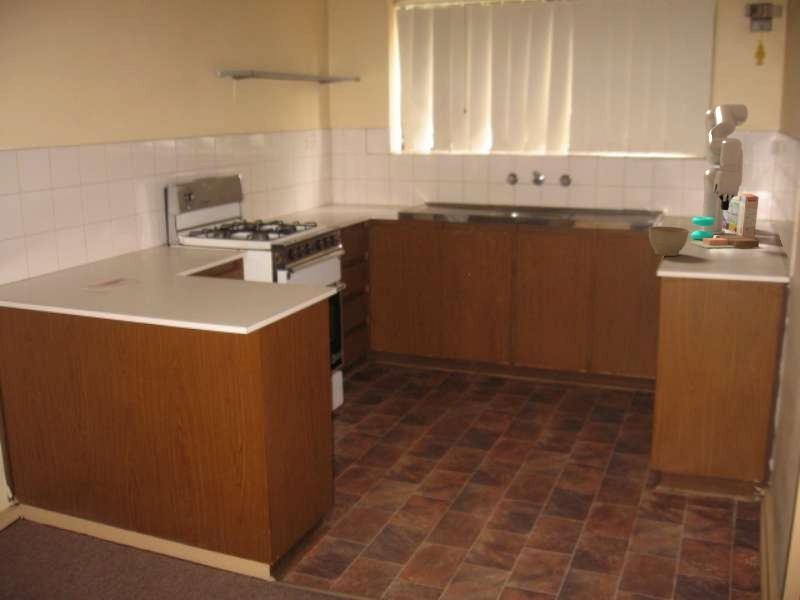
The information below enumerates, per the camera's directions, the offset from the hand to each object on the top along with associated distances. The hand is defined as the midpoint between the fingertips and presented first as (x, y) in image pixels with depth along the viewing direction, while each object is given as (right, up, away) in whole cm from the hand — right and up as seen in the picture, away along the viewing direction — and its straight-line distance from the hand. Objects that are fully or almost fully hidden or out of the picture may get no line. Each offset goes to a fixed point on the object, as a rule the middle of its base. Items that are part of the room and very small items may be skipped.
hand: (724, 209), depth 375 cm
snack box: (+24, -6, +48) cm, 54 cm away
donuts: (-3, -12, +21) cm, 24 cm away
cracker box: (+17, -12, +19) cm, 28 cm away
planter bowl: (-32, -21, -21) cm, 44 cm away
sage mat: (-5, -16, +2) cm, 17 cm away
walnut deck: (+7, -15, +4) cm, 17 cm away
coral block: (-3, -14, +2) cm, 15 cm away
